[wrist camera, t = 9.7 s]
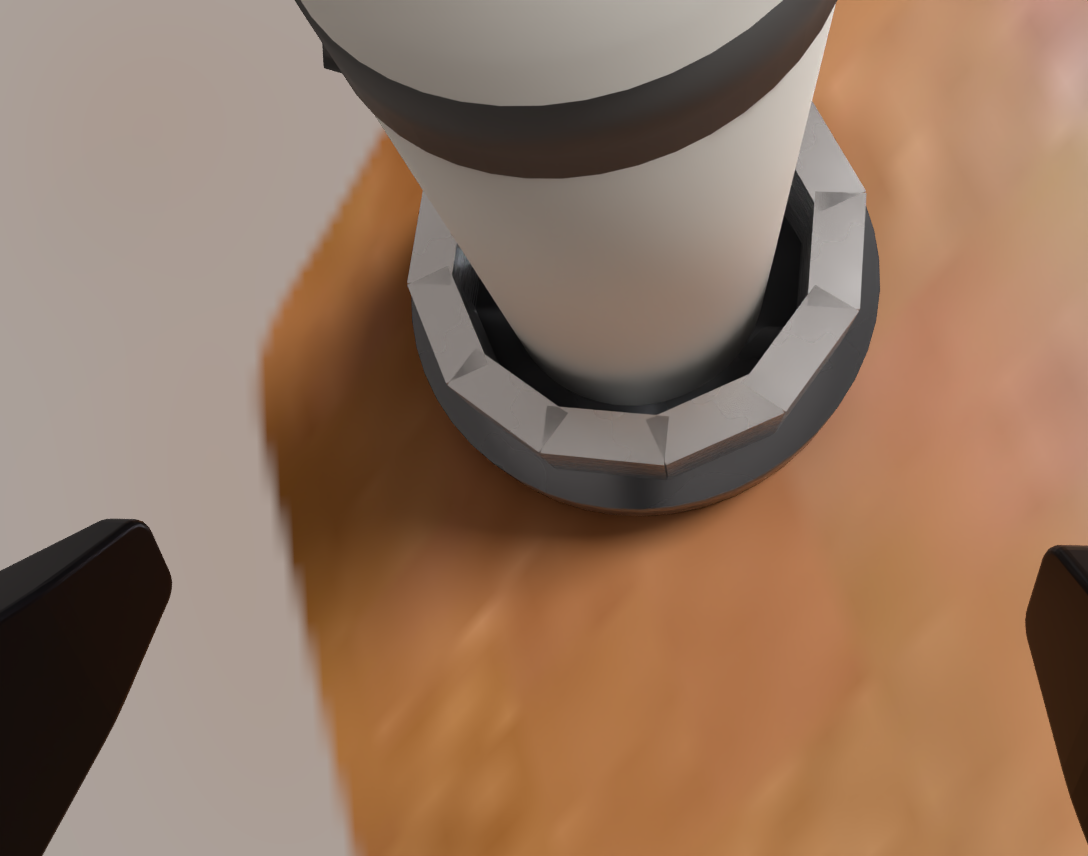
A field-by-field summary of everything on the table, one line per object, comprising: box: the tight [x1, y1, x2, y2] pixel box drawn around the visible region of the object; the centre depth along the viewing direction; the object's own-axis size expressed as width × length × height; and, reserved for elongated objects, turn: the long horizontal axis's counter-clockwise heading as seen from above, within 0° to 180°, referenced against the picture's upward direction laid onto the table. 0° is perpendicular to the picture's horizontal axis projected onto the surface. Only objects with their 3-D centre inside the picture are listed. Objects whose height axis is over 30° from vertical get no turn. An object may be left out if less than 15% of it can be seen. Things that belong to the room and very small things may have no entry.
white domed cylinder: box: [295, 0, 837, 406], centre depth 13 cm, size 6×6×12 cm
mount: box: [407, 102, 880, 516], centre depth 19 cm, size 11×11×4 cm
